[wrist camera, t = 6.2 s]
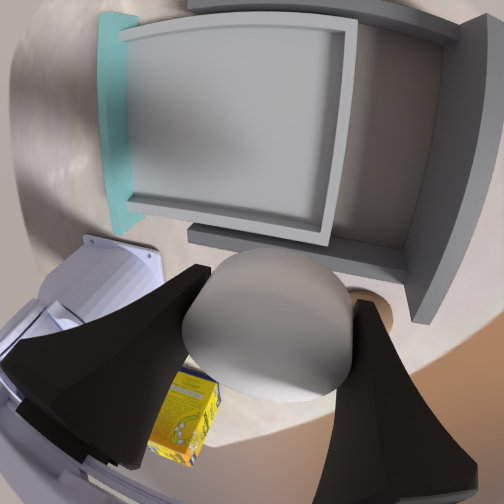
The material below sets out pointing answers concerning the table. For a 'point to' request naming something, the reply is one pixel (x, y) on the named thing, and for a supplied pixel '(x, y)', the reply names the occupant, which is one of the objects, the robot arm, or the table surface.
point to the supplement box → (185, 417)
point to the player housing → (439, 162)
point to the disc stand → (380, 303)
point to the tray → (226, 119)
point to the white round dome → (272, 326)
